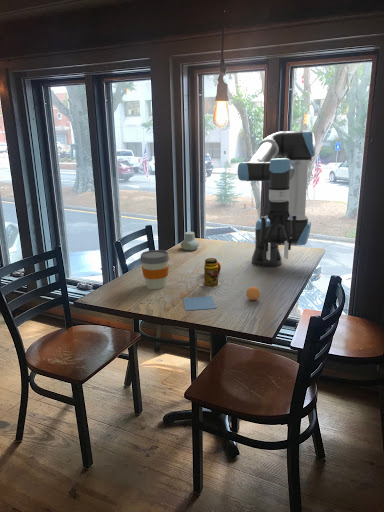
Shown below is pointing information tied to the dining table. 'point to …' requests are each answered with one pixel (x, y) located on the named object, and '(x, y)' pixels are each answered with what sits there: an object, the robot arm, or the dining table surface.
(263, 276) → the dining table surface
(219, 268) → the fruit
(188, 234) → the air freshener
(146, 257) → the reusable coffee cup
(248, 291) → the ball
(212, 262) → the condiment
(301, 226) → the robot arm
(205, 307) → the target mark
